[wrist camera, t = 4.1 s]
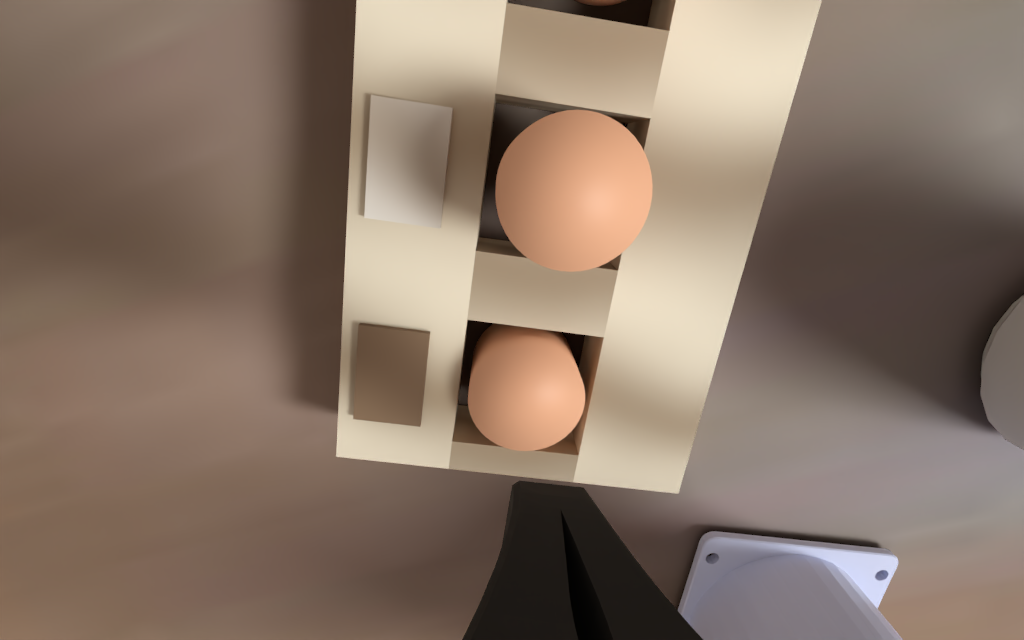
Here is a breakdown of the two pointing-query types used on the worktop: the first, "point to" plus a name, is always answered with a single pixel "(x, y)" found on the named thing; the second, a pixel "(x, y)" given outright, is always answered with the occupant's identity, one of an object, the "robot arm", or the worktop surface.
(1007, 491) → the worktop surface
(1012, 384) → the can
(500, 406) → the button far
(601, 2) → the button near
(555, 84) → the button board
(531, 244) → the button mid
